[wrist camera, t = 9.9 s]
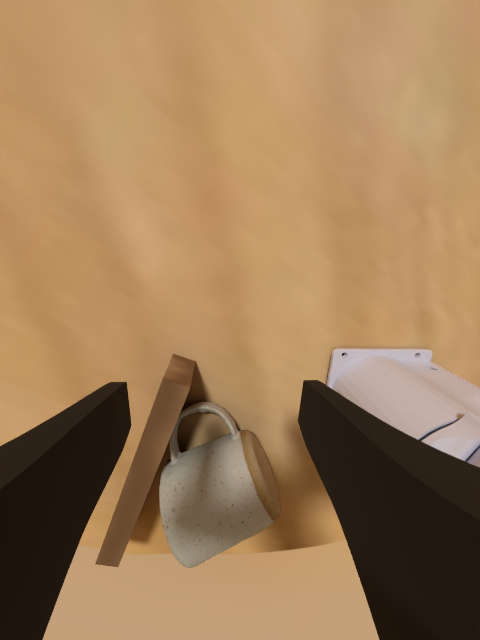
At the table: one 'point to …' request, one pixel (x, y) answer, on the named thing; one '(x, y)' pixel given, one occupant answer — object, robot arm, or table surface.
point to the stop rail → (147, 458)
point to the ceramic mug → (215, 492)
